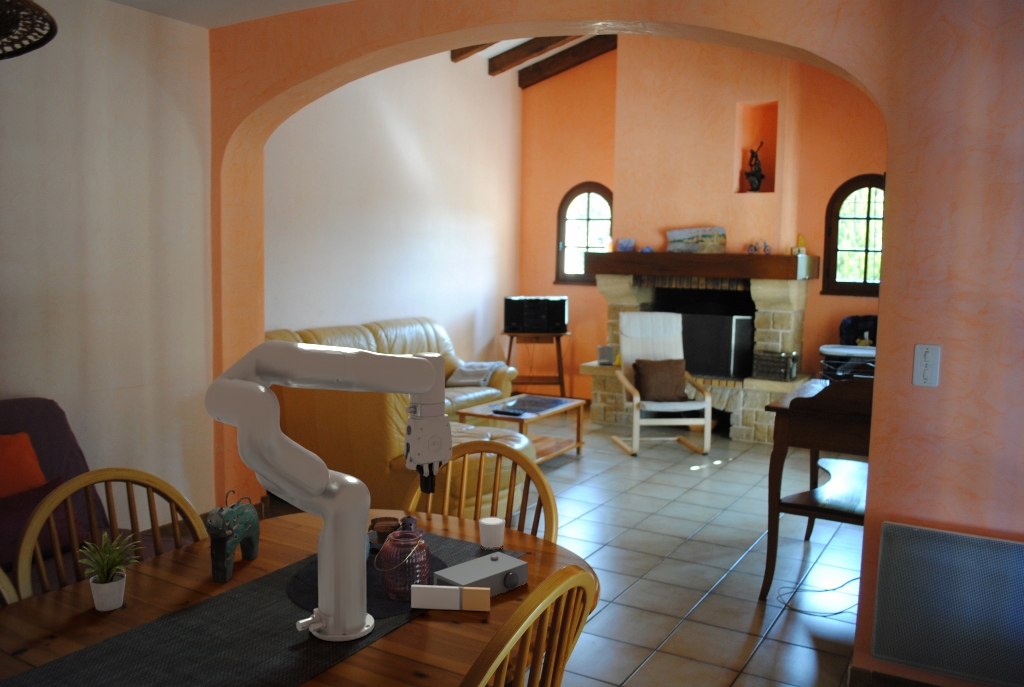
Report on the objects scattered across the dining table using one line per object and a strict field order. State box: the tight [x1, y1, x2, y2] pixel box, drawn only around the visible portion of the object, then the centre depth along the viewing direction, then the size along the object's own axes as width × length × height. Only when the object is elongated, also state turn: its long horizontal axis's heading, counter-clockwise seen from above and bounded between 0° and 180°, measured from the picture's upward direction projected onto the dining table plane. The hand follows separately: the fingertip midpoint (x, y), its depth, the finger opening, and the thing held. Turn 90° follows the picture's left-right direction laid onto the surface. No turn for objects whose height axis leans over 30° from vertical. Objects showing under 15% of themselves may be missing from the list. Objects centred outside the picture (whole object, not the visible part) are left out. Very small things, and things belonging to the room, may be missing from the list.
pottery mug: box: [367, 516, 401, 544], centre depth 223 cm, size 12×10×8 cm
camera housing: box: [433, 551, 529, 598], centre depth 192 cm, size 20×11×6 cm, turn 134°
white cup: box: [478, 516, 506, 548], centre depth 221 cm, size 7×7×7 cm
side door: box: [410, 584, 491, 612], centre depth 181 cm, size 1×17×5 cm, turn 85°
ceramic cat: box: [206, 489, 261, 584], centre depth 203 cm, size 20×6×20 cm, turn 171°
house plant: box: [77, 530, 145, 612], centre depth 180 cm, size 14×14×16 cm
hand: (427, 492), depth 187 cm, fingers closed
